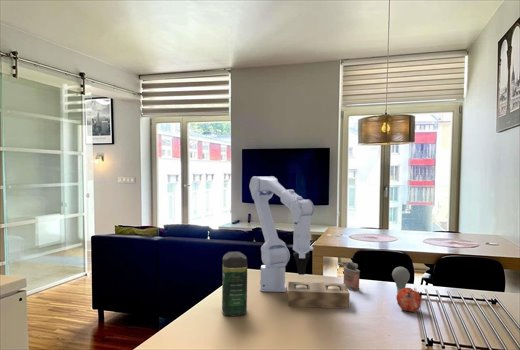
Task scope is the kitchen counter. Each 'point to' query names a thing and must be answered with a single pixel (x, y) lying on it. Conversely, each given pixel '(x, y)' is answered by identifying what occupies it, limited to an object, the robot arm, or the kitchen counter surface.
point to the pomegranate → (409, 299)
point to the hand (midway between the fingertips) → (301, 274)
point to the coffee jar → (234, 284)
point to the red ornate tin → (351, 276)
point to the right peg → (333, 288)
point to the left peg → (301, 287)
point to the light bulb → (400, 277)
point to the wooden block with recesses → (318, 295)
